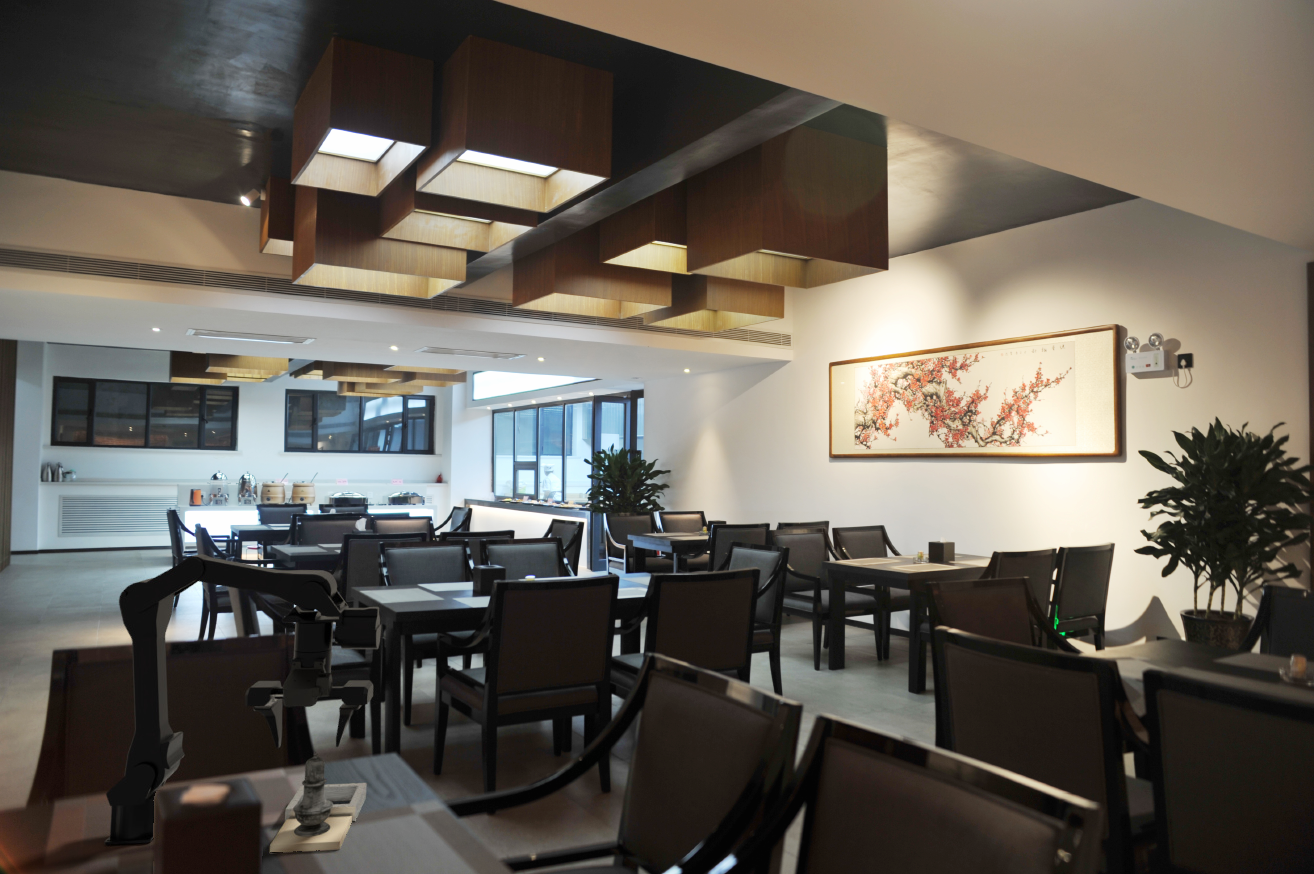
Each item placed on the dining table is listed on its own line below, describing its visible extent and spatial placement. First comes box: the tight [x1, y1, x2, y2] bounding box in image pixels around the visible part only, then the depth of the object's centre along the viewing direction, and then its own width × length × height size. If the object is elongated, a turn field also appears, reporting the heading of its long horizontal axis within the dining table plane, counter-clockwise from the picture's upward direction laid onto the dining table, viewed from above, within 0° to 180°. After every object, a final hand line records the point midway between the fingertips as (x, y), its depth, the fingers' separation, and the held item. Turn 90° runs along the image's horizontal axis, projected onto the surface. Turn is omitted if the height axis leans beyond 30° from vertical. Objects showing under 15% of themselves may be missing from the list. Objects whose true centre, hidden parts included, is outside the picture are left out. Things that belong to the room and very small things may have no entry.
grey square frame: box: [284, 782, 368, 822], centre depth 144 cm, size 11×11×2 cm
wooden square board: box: [269, 816, 353, 853], centre depth 133 cm, size 10×10×1 cm
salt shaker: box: [293, 751, 334, 837], centre depth 134 cm, size 6×6×12 cm
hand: (308, 746), depth 138 cm, fingers open, 9 cm apart
